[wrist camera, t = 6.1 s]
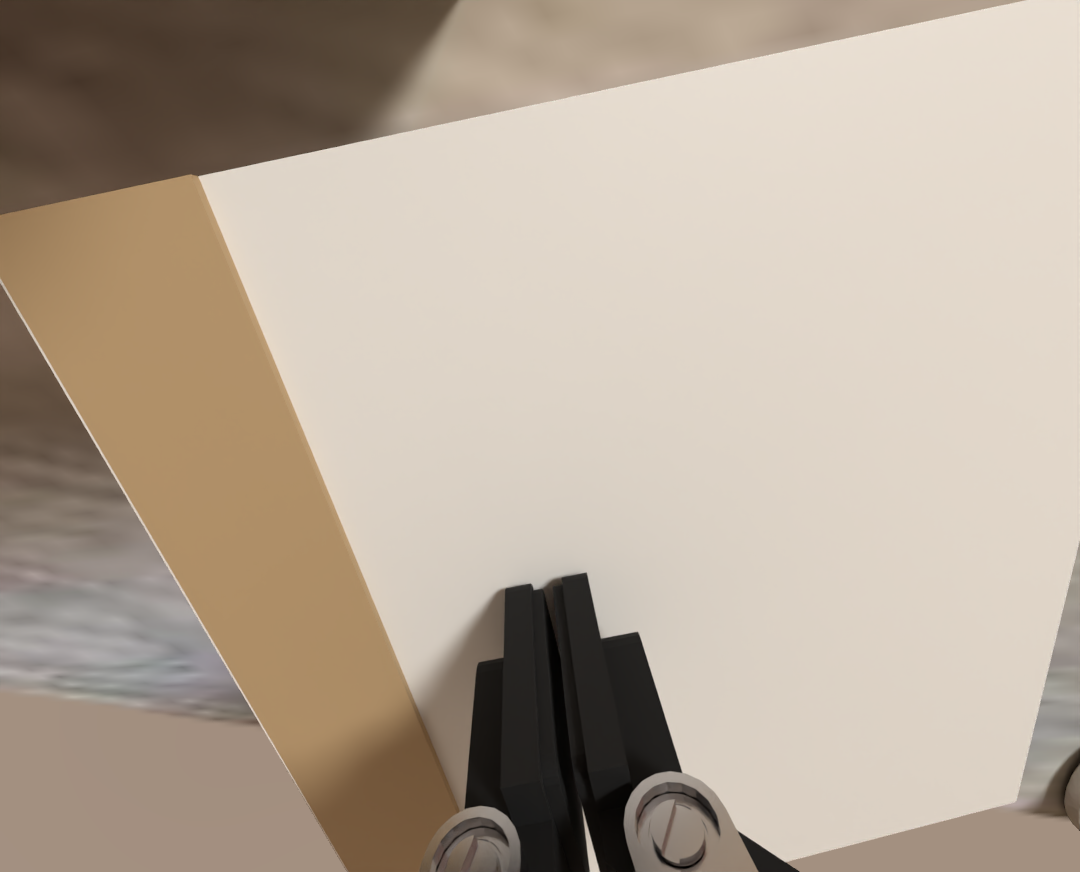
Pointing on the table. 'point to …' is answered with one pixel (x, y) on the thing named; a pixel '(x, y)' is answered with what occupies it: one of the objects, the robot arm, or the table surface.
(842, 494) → the lid
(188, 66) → the table surface
